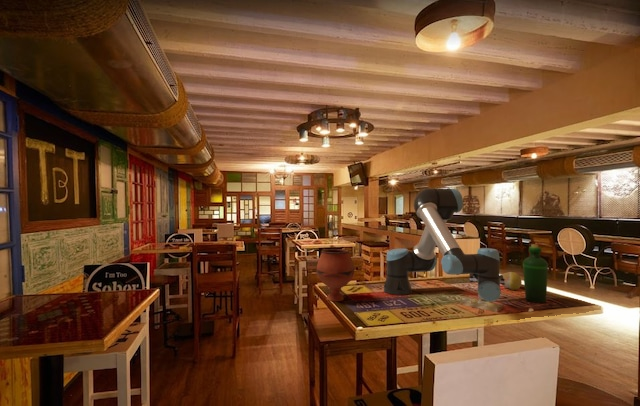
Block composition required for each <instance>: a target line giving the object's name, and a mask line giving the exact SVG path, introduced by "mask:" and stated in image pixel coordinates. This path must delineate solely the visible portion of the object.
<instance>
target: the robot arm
mask: <svg viewBox="0 0 640 406" xmlns="http://www.w3.org/2000/svg"><path fill="white" fill-rule="evenodd" d="M463 207H464V200H463V195H462V193H461V191H459V190H458V189H456V188H450V187H448V188H436V187H434V188H432V187H431V188H429V187H428V188H424V189H421V190H420V191H419V192H418V193H417V194H416V196H415V198H414V201H413V208H414V212H415V214H416V216H417V217H418V218H419V219H421V220H422V222H423V224H424V226H425V227H424V228H423V231H422V234H421V237H420V239H419V242H418V244H416V245H414V246H413V248H412V250H408V249H407V248H394V249H390V250H388V251H387V253H386V259H385V260H386V277H385V278H386V279H385V282H384V284H383V292H384V293H387V294H390V295H395V296H406V295H411V294H412V293H413V292H412V291H413V290H412V286H411V283H410V280H409V273H426V272H431V271H433V270H434V269H435V268H436V265H437V256H436V252H435V249H436V247H437V248H438V250H439V251H440V254H441V256H442V258H441V261H440V262H441V264H440V265H441V269H442V272H444V273H445V274H447V275H449V276H451V275H454V276H455V275H456V276H459V275H469V282H470V283H474V282H476V283H477V292H478V293H479V294H480V296H481V297H482V298H483V299H484V300H486V301H493V302H495V301H497V300H499V298H500V297H501V294H502V292H501V291H502V289H501V285H502V286H503V285H505V279H504V278H503V274H500V261H501V260H500V253H499V250H498V249H495V248H489V247H481V248H478V249H477V251H476V253H470V254H469V253H467V254H466V253H465V252H464V251H463V249H462V247H460V244H459V243H458V242H457V240H456V238H455V237H454V236H453V233H452V231H450V229H449V228H448V226H447V222H448V220H451V219H452V218H453V216H454V214H455V213H460V212H461V211H462V210H463Z"/></svg>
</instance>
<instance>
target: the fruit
mask: <svg viewBox="0 0 640 406" xmlns="http://www.w3.org/2000/svg"><path fill="white" fill-rule="evenodd" d="M502 275H503V278H504V279H505V285H502V286H503V287H504V288H506V289H508V290H512V291H517V290H519V289H520V287H522V283H523V282H522V281H523V280H522V277H521V276H520V275H519V274H518V273H517V272H515V271H508V272H504V273H503V274H502Z"/></svg>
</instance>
